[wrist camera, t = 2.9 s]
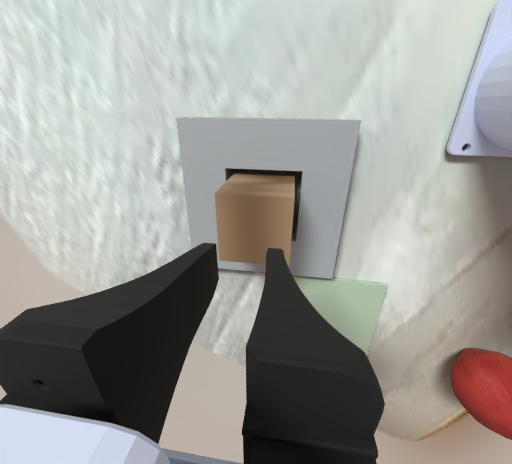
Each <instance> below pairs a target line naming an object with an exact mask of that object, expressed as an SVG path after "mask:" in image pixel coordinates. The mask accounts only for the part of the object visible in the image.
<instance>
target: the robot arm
mask: <svg viewBox="0 0 512 464" xmlns="http://www.w3.org/2000/svg"><path fill="white" fill-rule="evenodd" d="M464 144H467V148H466V149H465V150H464V151H462V147H463V145H464ZM446 150H447V152H448V153H449V154H451V155H462V156H494V157H512V0H498V1H497V3H496V4H495V5H494V7H493V9H492V12H491V15H490V18H489V21H488V24H487V27H486V30H485V33H484V36H483V39H482V42H481V45H480V48H479V51H478V54H477V57H476V60H475V63H474V66H473V69H472V72H471V75H470V78H469V81H468V84H467V87H466V90H465V93H464V96H463V99H462V102H461V105H460V108H459V111H458V114H457V117H456V120H455V123H454V126H453V129H452V132H451V135H450V138H449V141H448V144H447V148H446ZM218 280H219V276H218V262H217V247H216V244H215V243H202V244H200V245H198V246H196V247H195V248H193V249H191V250H190V251H188V252H186V253H185V254H183V255H181V256H180V257H178V258H176V259H175V260H173V261H171V262H169V263H167V264H165V265H164V266H162V267H160V268H158V269H156V270H154V271H152V272H150V273H148V274H146V275H144V276H141V277H139V278H137V279H134V280H132V281H129V282H127V283H124V284H121V285H118V286H116V287H113V288H110V289H107V290H104V291H101V292H98V293H94V294H91V295H88V296H84V297H80V298H76V299H73V300H69V301H64V302H60V303H55V304H51V305H46V306H41V307H37V308H31V309H27V310H25V311H24V312H23V313H21V314H20V315H19V316H17V317H16V318H15V319H13V320H12V321H11V322H9V323H8V324H7V325H5V326H4V327H3V328H1V329H0V385H1V386H2V388H3V389H4V391H5V392H6V393H7V395H6V396H5V397H4V398H3V399H2V400H1V401H0V464H241V463H236V462H231V461H226V460H220V459H214V458H210V457H205V456H199V455H194V454H189V453H183V452H178V451H172V450H168V449H163V448H161V447H160V446H159V445H158V443H159V439H160V436H161V433H162V429H163V426H164V422H165V419H166V416H167V412H168V409H169V406H170V403H171V400H172V397H173V393H174V390H175V387H176V384H177V381H178V379H179V375H180V373H181V370H182V367H183V364H184V361H185V358H186V356H187V353H188V350H189V347H190V345H191V343H192V340H193V338H194V336H195V334H196V332H197V330H198V327H199V325H200V323H201V321H202V319H203V317H204V315H205V313H206V311H207V309H208V307H209V305H210V302H211V300H212V298H213V296H214V293H215V290H216V286H217V283H218ZM246 388H247V389H246V390H247V391H246V394H247V404H246V409H245V416H244V421H243V427H242V435H243V450H244V464H376V459H377V457H378V450H377V446H376V442H375V438H374V433H375V431H376V428H377V426H378V424H379V421H380V419H381V416H382V414H383V410H384V404H385V403H384V399H383V395H382V391H381V388H380V385H379V382H378V380H377V377H376V375H375V373H374V371H373V368H372V366H371V364H370V362H369V360H368V358H367V356H366V354H365V352H364V351H363V350H361V349H360V348H359V347H357V346H356V345H355V344H354V343H352V342H351V341H350V340H348V339H347V338H346V337H344V336H343V335H342V334H341V333H339V332H338V331H337V330H336V329H335V328H334V327H333V326H331V325H330V324H329V323H328V322H327V321H326V320H325V319H324V318H323V317H322V316H321V315H320V314H319V312H318V311H317V310H316V309H315V308H314V307H313V306H312V304H311V303H310V302H309V301H308V299H307V298H306V297H305V295H304V294H303V292H302V291H301V289H300V288H299V286H298V284H297V283H296V281H295V279H294V277H293V276H292V274H291V271H290V269H289V267H288V265H287V262H286V260H285V256H284V251H283V250H282V249H277V248H268V250H267V253H266V269H265V284H264V289H263V293H262V297H261V301H260V305H259V309H258V312H257V316H256V319H255V322H254V326H253V328H252V331H251V334H250V337H249V340H248V343H247V345H246Z"/></svg>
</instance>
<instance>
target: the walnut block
mask: <svg viewBox="0 0 512 464" xmlns="http://www.w3.org/2000/svg"><path fill="white" fill-rule="evenodd" d="M294 200H295V173H277V172H252V171H236V172H235V173H234V174H233V175H232V176H231V177H230V178H229V179H228V180H227V181H226V182H225V183H224V184H223V185H222V186H221V187H220V188H219V189H218V190H217V191H216V192H215V207H216V222H217V237H218V252H219V261H229V262H241V263H252V264H264V265H266V253H267V250H268V248H277V249H282V250H283V251H284V256H285V260H286V262H287V265H288V267H289V262H290V250H291V237H292V225H293V213H294Z"/></svg>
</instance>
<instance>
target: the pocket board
mask: <svg viewBox="0 0 512 464" xmlns="http://www.w3.org/2000/svg"><path fill="white" fill-rule="evenodd" d="M176 119H177V127H178V135H179V144H180V152H181V161H182V169H183V177H184V186H185V194H186V203H187V211H188V219H189V228H190V236H191V244H192V249H193V248H195V247H196V246H198V245H200V244H202V243H215V244H216V247H217V262H218V268H222V269H232V270H243V271H254V272H265V269H266V265H264V264H252V263H241V262H229V261H219V252H218V237H217V222H216V207H215V192H216V191H217V190H218V189H219V188H220V187H221V186H222V185H223V184H224V183H225V182H226V181H227V180H228V179H229V178H230V177H231V175H230V168H233V169H258V170H282V171H302V174H301V185H300V196H299V207H298V218H297V229H296V233H292V237H291V250H290V262H289V269H290V271H291V274H292V275H297V276H308V277H319V278H329V279H332V278H333V272H334V267H335V261H336V256H337V250H338V245H339V239H340V234H341V228H342V223H343V217H344V211H345V206H346V200H347V195H348V189H349V184H350V178H351V173H352V167H353V162H354V156H355V150H356V145H357V139H358V134H359V128H360V123H361V121H360V120H329V119H265V118H201V117H180V118H176Z"/></svg>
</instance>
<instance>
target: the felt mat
mask: <svg viewBox="0 0 512 464" xmlns="http://www.w3.org/2000/svg"><path fill="white" fill-rule="evenodd" d="M292 276H293V277H294V279H295V281H296V283H297V284H298V286H299V288H300V289H301V291H302V292H303V294H304V295H305V297H306V298H307V299H308V301H309V302H310V303H311V304H312V306H313V307H314V308H315V309H316V310H317V311H318V312H319V314H320V315H321V316H322V317H323V318H324V319H325V320H326V321H327V322H328V323H329V324H330V325H331V326H333V327H334V328H335V329H336V330H337V331H338V332H339V333H341V334H342V335H343V336H344V337H346V338H347V339H348V340H350V341H351V342H352V343H354V344H355V345H356V346H357V347H359V348H360V349H361V350H363V351H364V352H365V354H366V356H367V354H368V351H369V347H370V344H371V341H372V338H373V334H374V331H375V328H376V325H377V321H378V318H379V315H380V312H381V308H382V305H383V302H384V299H385V295H386V292H387V289H388V284H387V283H380V282H369V281H358V280H347V279H336V278H332V279H329V278H319V277H308V276H297V275H292Z"/></svg>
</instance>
